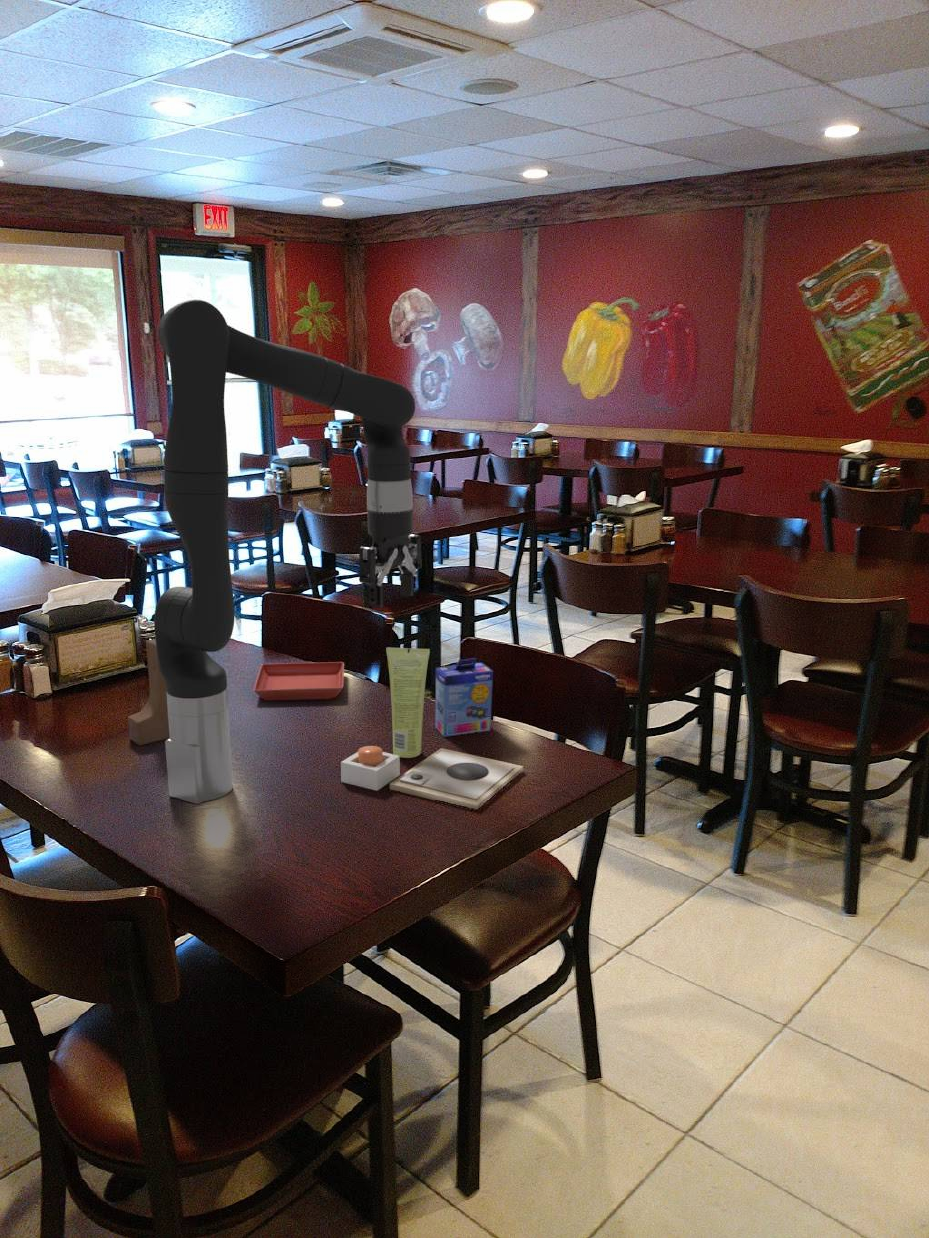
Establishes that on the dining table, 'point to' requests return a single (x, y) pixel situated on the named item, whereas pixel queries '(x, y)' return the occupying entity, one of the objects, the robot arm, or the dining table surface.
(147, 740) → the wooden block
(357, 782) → the button housing
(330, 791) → the dining table surface
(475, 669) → the ink cartridge box
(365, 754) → the button
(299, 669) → the plant saucer
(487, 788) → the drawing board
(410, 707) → the tube
